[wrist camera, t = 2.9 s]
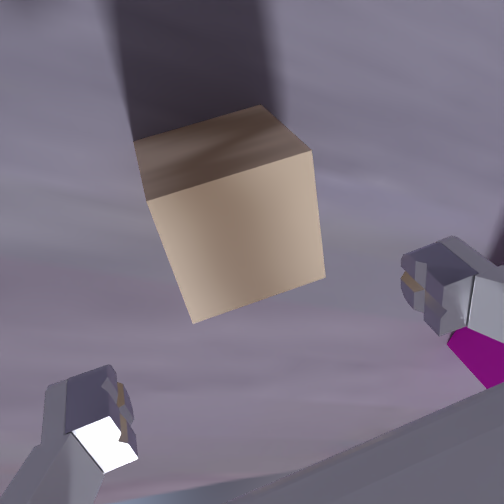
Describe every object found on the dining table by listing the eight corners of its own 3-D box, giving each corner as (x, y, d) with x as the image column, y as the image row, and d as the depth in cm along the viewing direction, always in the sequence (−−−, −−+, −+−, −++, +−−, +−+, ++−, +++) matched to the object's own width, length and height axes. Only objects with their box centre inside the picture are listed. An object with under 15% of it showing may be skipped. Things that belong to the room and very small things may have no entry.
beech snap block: (260, 103, 17) (311, 150, 13) (279, 212, 20) (325, 277, 16) (133, 140, 16) (146, 201, 12) (172, 247, 19) (192, 323, 15)
